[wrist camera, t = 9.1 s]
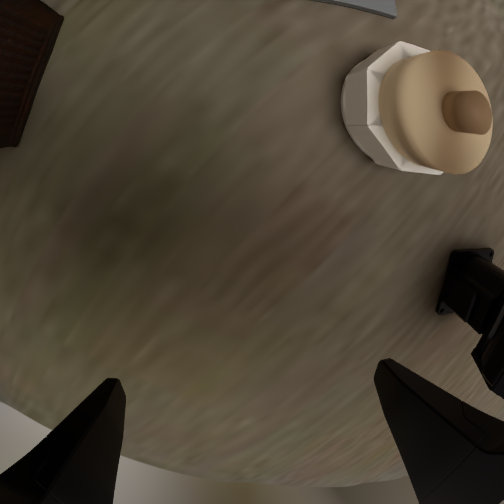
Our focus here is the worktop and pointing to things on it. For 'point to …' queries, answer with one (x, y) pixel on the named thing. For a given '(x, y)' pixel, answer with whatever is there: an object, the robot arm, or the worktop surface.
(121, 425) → the robot arm
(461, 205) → the worktop surface
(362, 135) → the bowl
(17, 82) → the manual coffee grinder
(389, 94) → the lid
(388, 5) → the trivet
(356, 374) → the worktop surface
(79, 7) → the worktop surface
